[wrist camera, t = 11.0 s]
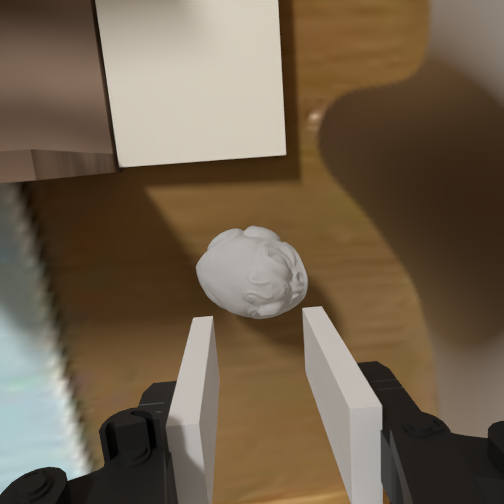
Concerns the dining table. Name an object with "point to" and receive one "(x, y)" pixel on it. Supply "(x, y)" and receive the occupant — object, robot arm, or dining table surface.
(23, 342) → the dining table surface
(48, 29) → the crate
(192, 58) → the panel
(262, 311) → the white sculpted head
